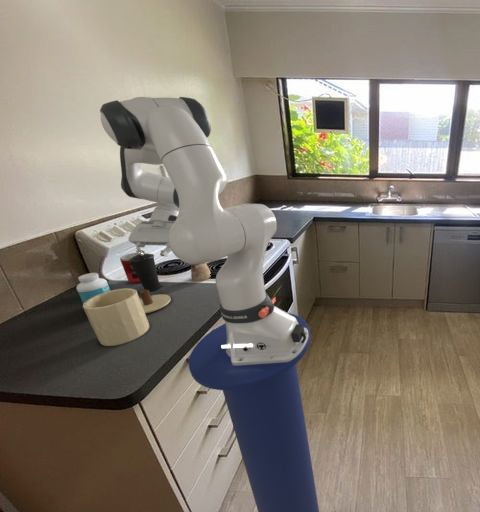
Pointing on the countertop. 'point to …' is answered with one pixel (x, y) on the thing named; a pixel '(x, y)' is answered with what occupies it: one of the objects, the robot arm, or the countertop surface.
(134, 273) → the canned food
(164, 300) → the lid
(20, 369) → the countertop surface
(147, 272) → the drinking cup
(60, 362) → the countertop surface
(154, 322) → the countertop surface
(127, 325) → the beige canister
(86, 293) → the pill bottle
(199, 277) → the figurine
